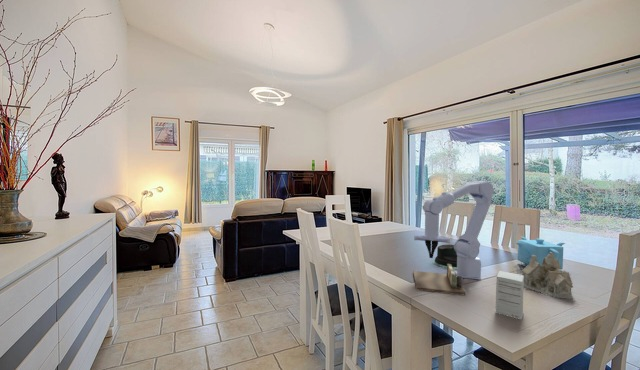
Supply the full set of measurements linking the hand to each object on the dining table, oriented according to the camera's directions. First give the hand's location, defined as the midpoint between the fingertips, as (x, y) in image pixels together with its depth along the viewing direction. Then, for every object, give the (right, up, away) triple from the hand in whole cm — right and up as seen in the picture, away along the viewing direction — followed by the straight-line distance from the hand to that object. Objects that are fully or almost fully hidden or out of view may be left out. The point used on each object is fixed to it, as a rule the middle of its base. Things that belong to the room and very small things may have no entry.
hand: (431, 257), depth 126 cm
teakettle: (+60, -9, +17) cm, 63 cm away
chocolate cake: (+20, -9, +23) cm, 31 cm away
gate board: (+1, -10, -5) cm, 11 cm away
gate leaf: (+6, -8, -6) cm, 12 cm away
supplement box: (+15, -11, -30) cm, 35 cm away
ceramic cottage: (+42, -11, -10) cm, 45 cm away
